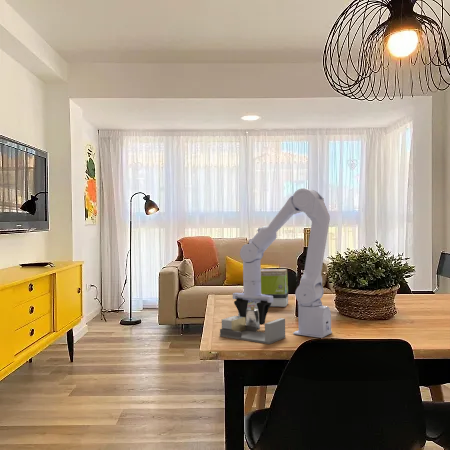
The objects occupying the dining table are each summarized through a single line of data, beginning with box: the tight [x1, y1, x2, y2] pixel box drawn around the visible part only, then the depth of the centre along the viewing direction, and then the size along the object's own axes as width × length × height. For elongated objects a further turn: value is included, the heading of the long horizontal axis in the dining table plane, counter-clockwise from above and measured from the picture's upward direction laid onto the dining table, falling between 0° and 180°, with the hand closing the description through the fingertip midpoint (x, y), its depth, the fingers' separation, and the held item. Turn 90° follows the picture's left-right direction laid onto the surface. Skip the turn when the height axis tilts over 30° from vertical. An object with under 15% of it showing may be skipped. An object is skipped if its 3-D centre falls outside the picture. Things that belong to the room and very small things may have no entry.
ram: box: [221, 315, 246, 332], centre depth 143 cm, size 4×7×4 cm, turn 143°
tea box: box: [261, 268, 289, 308], centre depth 193 cm, size 15×10×15 cm
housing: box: [246, 306, 261, 330], centre depth 151 cm, size 4×4×7 cm
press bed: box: [219, 317, 286, 345], centre depth 139 cm, size 18×9×6 cm, turn 53°
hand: (252, 322), depth 151 cm, fingers open, 6 cm apart
